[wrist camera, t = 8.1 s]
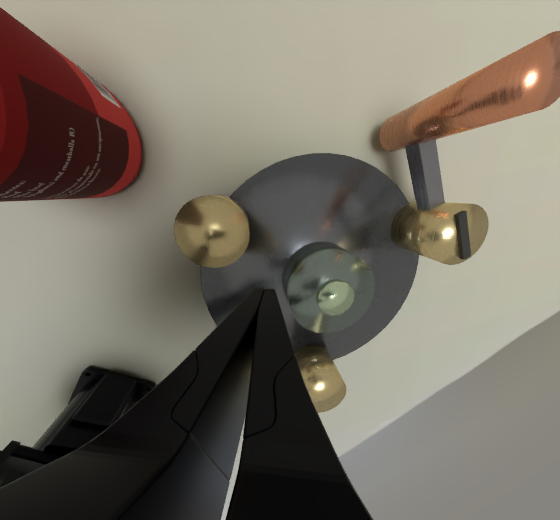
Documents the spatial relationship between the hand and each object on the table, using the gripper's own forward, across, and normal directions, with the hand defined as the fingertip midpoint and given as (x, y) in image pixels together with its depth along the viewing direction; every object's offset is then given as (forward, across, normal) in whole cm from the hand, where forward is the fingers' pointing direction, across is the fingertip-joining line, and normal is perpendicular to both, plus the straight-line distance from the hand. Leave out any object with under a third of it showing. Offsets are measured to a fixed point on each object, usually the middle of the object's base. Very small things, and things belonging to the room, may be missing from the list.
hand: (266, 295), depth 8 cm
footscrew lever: (+12, -10, -1) cm, 16 cm away
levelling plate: (+10, -3, +6) cm, 12 cm away
